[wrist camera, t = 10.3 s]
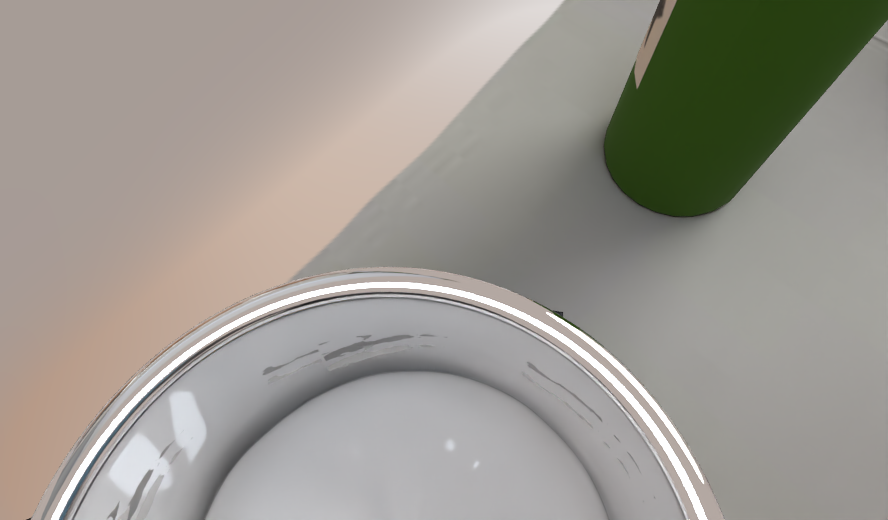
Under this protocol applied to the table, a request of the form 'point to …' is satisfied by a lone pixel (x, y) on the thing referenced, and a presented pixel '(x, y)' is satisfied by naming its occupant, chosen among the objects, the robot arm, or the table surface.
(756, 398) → the table surface
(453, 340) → the beer glass
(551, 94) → the table surface
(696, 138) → the wine bottle
